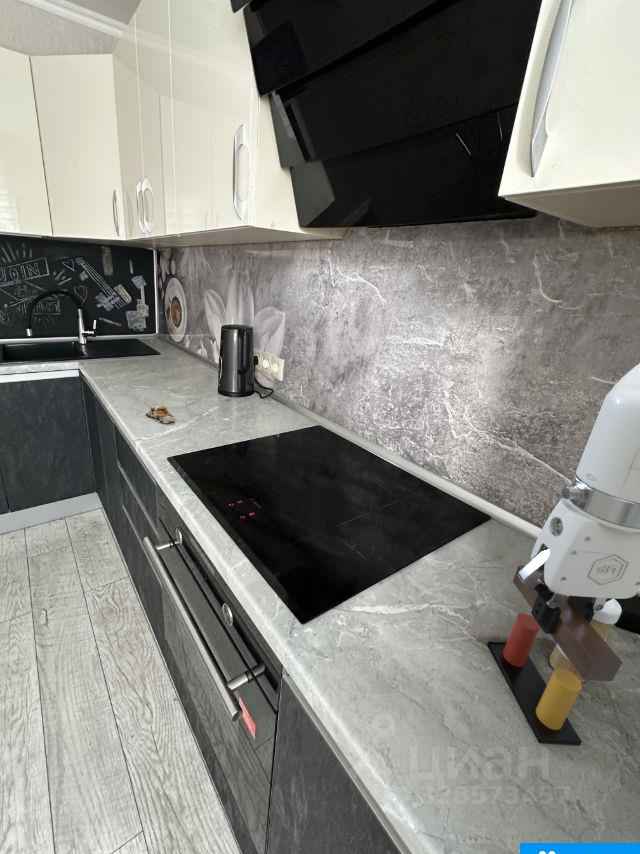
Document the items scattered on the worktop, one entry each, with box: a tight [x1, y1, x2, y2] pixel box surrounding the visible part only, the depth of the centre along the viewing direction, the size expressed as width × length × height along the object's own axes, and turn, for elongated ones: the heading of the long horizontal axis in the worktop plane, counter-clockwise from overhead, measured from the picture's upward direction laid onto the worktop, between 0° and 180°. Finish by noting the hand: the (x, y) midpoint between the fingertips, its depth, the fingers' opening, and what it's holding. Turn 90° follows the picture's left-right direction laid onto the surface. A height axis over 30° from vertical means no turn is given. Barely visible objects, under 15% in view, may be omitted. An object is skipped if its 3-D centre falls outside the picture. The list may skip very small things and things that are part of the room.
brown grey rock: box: [145, 405, 176, 424], centre depth 133 cm, size 7×12×4 cm, turn 49°
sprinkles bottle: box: [548, 598, 623, 684], centre depth 53 cm, size 5×5×13 cm
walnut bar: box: [512, 564, 624, 682], centre depth 48 cm, size 14×3×3 cm, turn 179°
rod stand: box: [486, 612, 583, 746], centre depth 51 cm, size 5×13×8 cm, turn 179°
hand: (556, 623), depth 48 cm, fingers closed on walnut bar, 3 cm apart
